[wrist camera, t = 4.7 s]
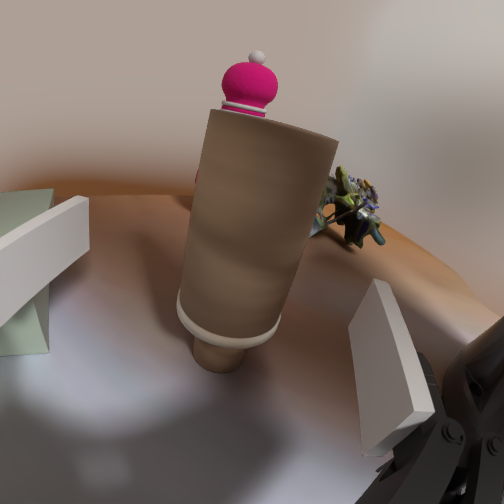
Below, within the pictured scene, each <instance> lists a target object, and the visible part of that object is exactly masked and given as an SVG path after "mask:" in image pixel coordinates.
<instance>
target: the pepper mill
mask: <svg viewBox="0 0 504 504" xmlns="http://www.w3.org/2000/svg"><path fill="white" fill-rule="evenodd" d="M264 61H265V55H264V54H263V53H262V52H260V51H254V52H252V53H251V54H250V55H249V62H242V63H238V64H235V65H233V66H231V67H230V68H229V69H228V70H227V72H226V73H225V74H224V77H223V80H222V90H223V92H224V94H225V96H226V101H222V104H223V106H222V109H220V110H223V111H230V112H235V113H241V114H246V115H251V116H256V117H260V118H264V117H265V113H267V110H265V109H264V107H265V106H266V105H267V104H268V103H269V102H271V101H272V100H273V99H274V98H275V96H276V94H277V89H278V82H277V79H276V76H275V75H274V73H273V72H272V71H271V70H270V69H268V68H267V67H265V66H263V65H261V64H263V63H264ZM264 119H265V118H264ZM197 175H198V171H197ZM197 175H196V179H195V183H196V180H197Z"/></svg>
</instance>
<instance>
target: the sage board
mask: <svg viewBox="0 0 504 504" xmlns="http://www.w3.org/2000/svg"><path fill="white" fill-rule="evenodd" d="M53 207H55V204H54V188H53V189H37V190H25V191H24V190H23V191H13V192H1V193H0V238H1V237H2V236H4V235H5V234H7V233H9V232H10V231H12V230H14V229H15V228H17V227H19V226H21V225H22V224H24V223H26V222H27V221H29V220H31V219H33V218H35V217H36V216H38V215H40V214H42V213H44V212H46V211H47V210H49V209H51V208H53ZM49 285H50V282H49V283H48V284H47V285H46V286H45V287H44V288H42V289H41V290H40V291H39V292H38V293H37V294H36V295H34V296H33V297H32V298H31V299H30V300H29V301H28V302H27V303H26V304H25V305H23V306H22V307H21V308H20V309H19V310H18V311H17V312H16V313H15V314H14V315H13V316H12V317H11V318H10V319H9V320H8V321H7V322H6V323H5V324H4V325H3V326H1V327H0V356H9V355H26V354H40V353H49V332H48V312H49Z"/></svg>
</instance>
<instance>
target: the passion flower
mask: <svg viewBox="0 0 504 504" xmlns="http://www.w3.org/2000/svg"><path fill="white" fill-rule="evenodd" d="M335 175H336V177H335V176H334V175H332V176H333V177H334V178H333V177H331V176H328V179H327V182H326V185H325V188H324V192H323V195H322V199H321V201H320V204H319V207H318V210H317V213H318V214H319V216H320V218H321V220H320V219H319V218H318V217H317V216H315V219H314V222H313V225H312V228H311V231H310V234H309V237H308V238H310V237H311V236H312V235H314V234H317V233H319V232H320V231H322V230H325V229H326V228H327V227H328V225H329V224H331V223H334V222H335V221H336V222H337V224H338V225H345V235H344V239H345V240H346V242H347V243H348V244H349V245H353V243H354V244H355V245H356V246H358V247H359V248H360V249H361V248H362V246H363V238H364V237H365V236H366V235H369V234H370V235H371V236H372V237H373V239H374V240H375V242H376V243H377V244H379V245H380V246H381V245H384V244H385V242H386V241H385V239H384V238H383V237H382V235H381V234H380V232H379V226H380V223H381V222H380V218H379V217H377V216H376V215H375V214H374V212H375V211H374V210H375V208H379V207H378V206H375V205H376V204H377V203H378V202H377V200H378V195H377V193H376V190H375V187H373V186H370V184H369V182H368V181H367V180H364V182H363V181H362V180H361V179H357V183H356V181H355V178H353V180H352V178H351V177H350V175H349V176H348V177H347V172H346V170H345V168H344V167H343V166H340V167H337V169H336V173H335ZM358 185H359V187H360V189H358ZM363 190H364V191H363ZM366 197H367V198H366ZM329 203H334V204H335V212H334V213H333V214H331V215H330V216H328V217H324V216H323V213H322V211H323V208H324V206H325V205H327V204H329ZM334 214H335V218H334V219H333V220H330V221H328V222H326V221H327V220H329V219H330V218H331V217H332V216H333V215H334Z"/></svg>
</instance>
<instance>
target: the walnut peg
mask: <svg viewBox="0 0 504 504" xmlns="http://www.w3.org/2000/svg"><path fill="white" fill-rule="evenodd" d="M338 143H339V142H338V141H336V140H334V139H332V138H329V137H326V136H323V135H321V134H318V133H315V132H312V131H308V130H305V129H302V128H298V127H295V126H292V125H288V124H284V123H281V122H277V121H273V120H269V119H264V118H260V117H256V116H251V115H246V114H241V113H235V112H230V111H223V110H215V109H211V111H210V115H209V120H208V125H207V130H206V134H205V139H204V144H203V149H202V154H201V159H200V164H199V169H198V175H197V180H196V186H195V192H194V197H193V203H192V209H191V215H190V222H189V228H188V235H187V242H186V249H185V256H184V264H183V271H182V279H181V287H180V289H179V291H178V296H177V314H178V316H179V319H180V321H181V322H182V324H183V325H184V326H185V327H186V329H187V330H189V331H190V332H191V333H192V334H193V335H195V339H194V346H193V356H194V358H195V360H196V362H197V363H198V364H199V365H200V366H201V367H203V368H204V369H206V370H208V371H211V372H215V373H227V372H231V371H233V370H235V369H236V368H238V367H239V365H240V364H241V362H242V359H243V356H244V353H245V350H246V348H251V347H255V346H258V345H261V344H263V343H265V342H266V341H267V340H269V339H270V338H271V337H272V336H273V335H274V333H275V332H276V329H277V327H278V324H279V322H280V319H281V311H282V308H283V306H284V303H285V300H286V298H287V295H288V292H289V290H290V287H291V284H292V282H293V279H294V276H295V273H296V271H297V268H298V265H299V262H300V259H301V257H302V254H303V251H304V248H305V245H306V242H307V239H308V237H309V234H310V231H311V228H312V225H313V222H314V219H315V216H316V213H317V210H318V207H319V204H320V201H321V198H322V195H323V192H324V188H325V185H326V182H327V179H328V176H329V173H330V169H331V166H332V163H333V160H334V156H335V153H336V150H337V146H338Z"/></svg>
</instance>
